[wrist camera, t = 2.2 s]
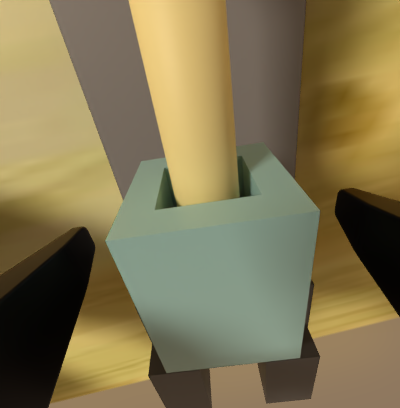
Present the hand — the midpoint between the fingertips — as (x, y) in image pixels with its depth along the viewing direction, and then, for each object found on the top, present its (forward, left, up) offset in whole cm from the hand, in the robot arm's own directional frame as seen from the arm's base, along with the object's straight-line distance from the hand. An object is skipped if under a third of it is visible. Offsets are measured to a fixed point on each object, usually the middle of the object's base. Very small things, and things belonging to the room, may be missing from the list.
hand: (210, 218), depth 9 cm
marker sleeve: (0, 0, 0) cm, 0 cm away
